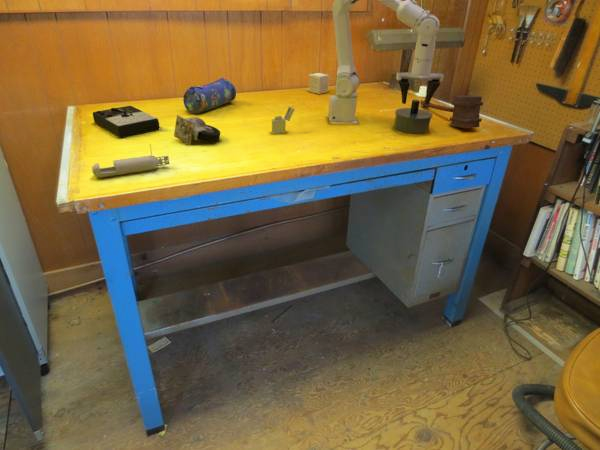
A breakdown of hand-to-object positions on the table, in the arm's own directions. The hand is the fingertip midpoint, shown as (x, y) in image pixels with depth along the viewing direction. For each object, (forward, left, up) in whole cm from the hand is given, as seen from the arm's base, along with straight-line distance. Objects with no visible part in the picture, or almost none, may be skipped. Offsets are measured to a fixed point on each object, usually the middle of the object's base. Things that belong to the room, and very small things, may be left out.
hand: (415, 103), depth 136 cm
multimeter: (-93, 0, -9) cm, 93 cm away
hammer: (+17, +15, -9) cm, 24 cm away
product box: (-26, +50, -9) cm, 58 cm away
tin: (0, 0, -9) cm, 9 cm away
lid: (0, 0, -4) cm, 4 cm away
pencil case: (-69, +23, -9) cm, 73 cm away
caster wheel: (-68, -12, -9) cm, 70 cm away
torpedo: (-81, -35, -9) cm, 89 cm away
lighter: (-43, -4, -9) cm, 44 cm away
